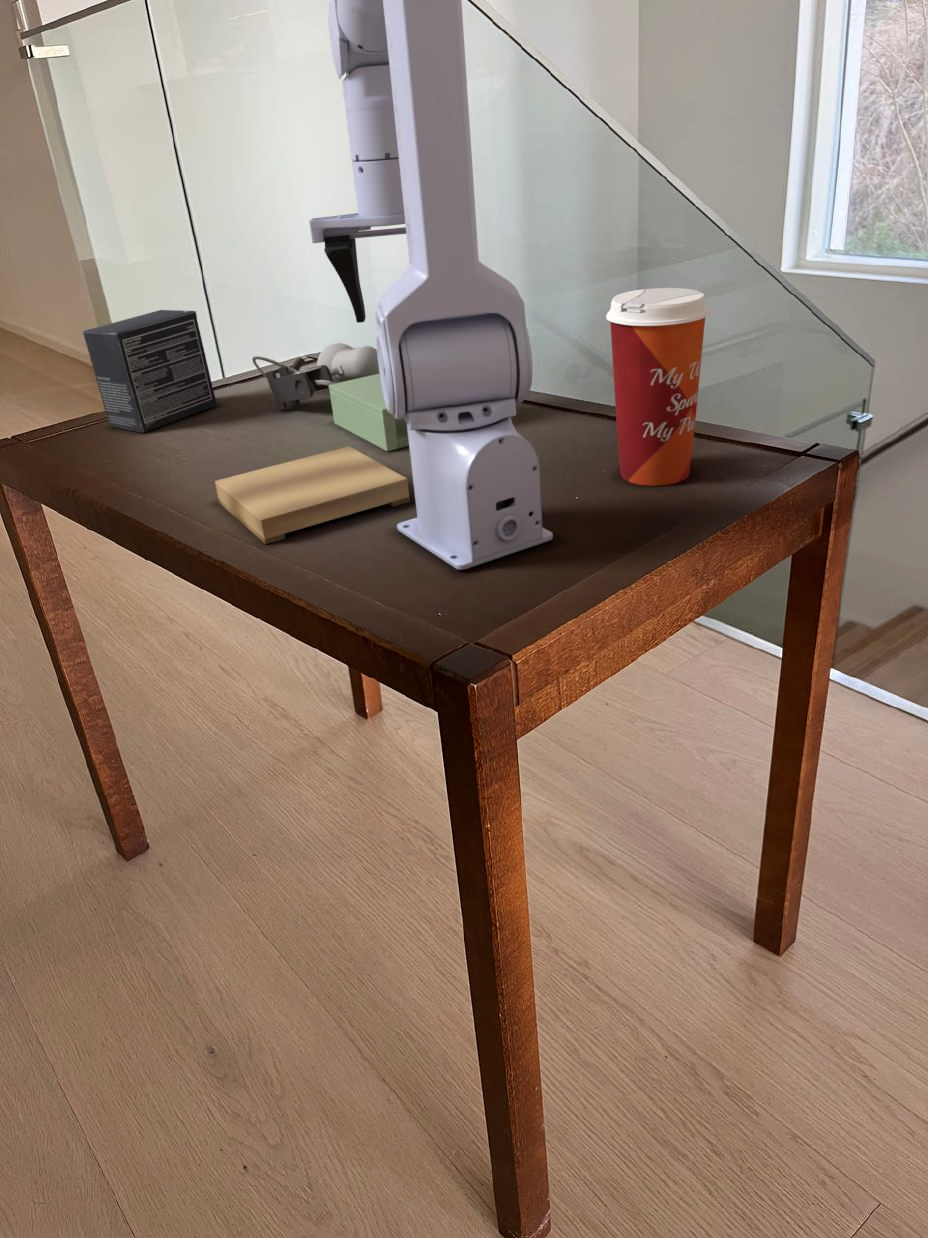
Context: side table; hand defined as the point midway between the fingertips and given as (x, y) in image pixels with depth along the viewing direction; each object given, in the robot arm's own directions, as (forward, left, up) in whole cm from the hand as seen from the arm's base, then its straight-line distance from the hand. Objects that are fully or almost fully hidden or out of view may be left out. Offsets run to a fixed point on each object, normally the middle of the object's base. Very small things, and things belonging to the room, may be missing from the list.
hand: (401, 316), depth 90 cm
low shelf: (-13, +16, -10) cm, 23 cm away
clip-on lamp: (+18, +3, -11) cm, 21 cm away
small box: (+23, +19, -11) cm, 32 cm away
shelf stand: (0, 0, -10) cm, 10 cm away
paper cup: (-27, -8, -11) cm, 30 cm away
